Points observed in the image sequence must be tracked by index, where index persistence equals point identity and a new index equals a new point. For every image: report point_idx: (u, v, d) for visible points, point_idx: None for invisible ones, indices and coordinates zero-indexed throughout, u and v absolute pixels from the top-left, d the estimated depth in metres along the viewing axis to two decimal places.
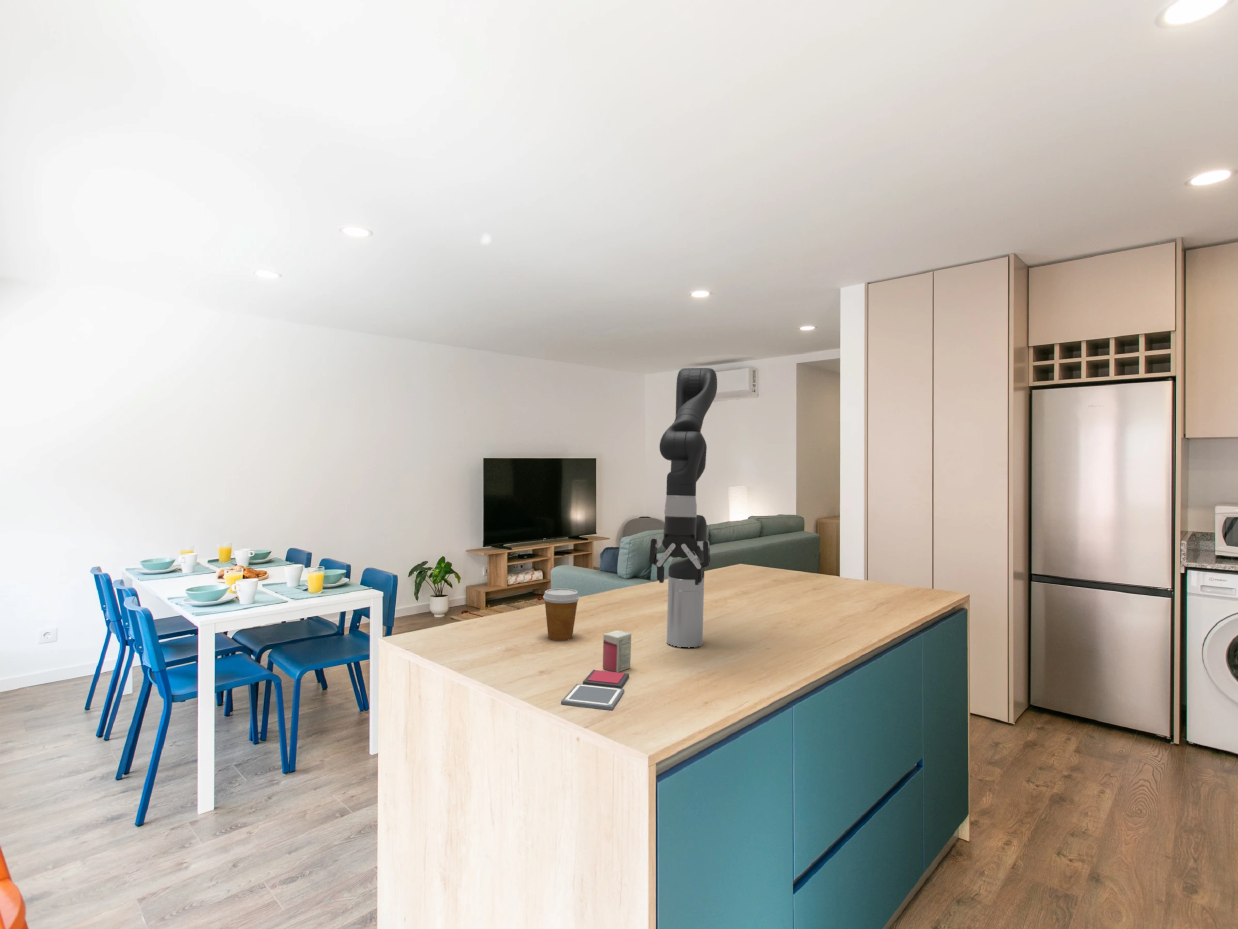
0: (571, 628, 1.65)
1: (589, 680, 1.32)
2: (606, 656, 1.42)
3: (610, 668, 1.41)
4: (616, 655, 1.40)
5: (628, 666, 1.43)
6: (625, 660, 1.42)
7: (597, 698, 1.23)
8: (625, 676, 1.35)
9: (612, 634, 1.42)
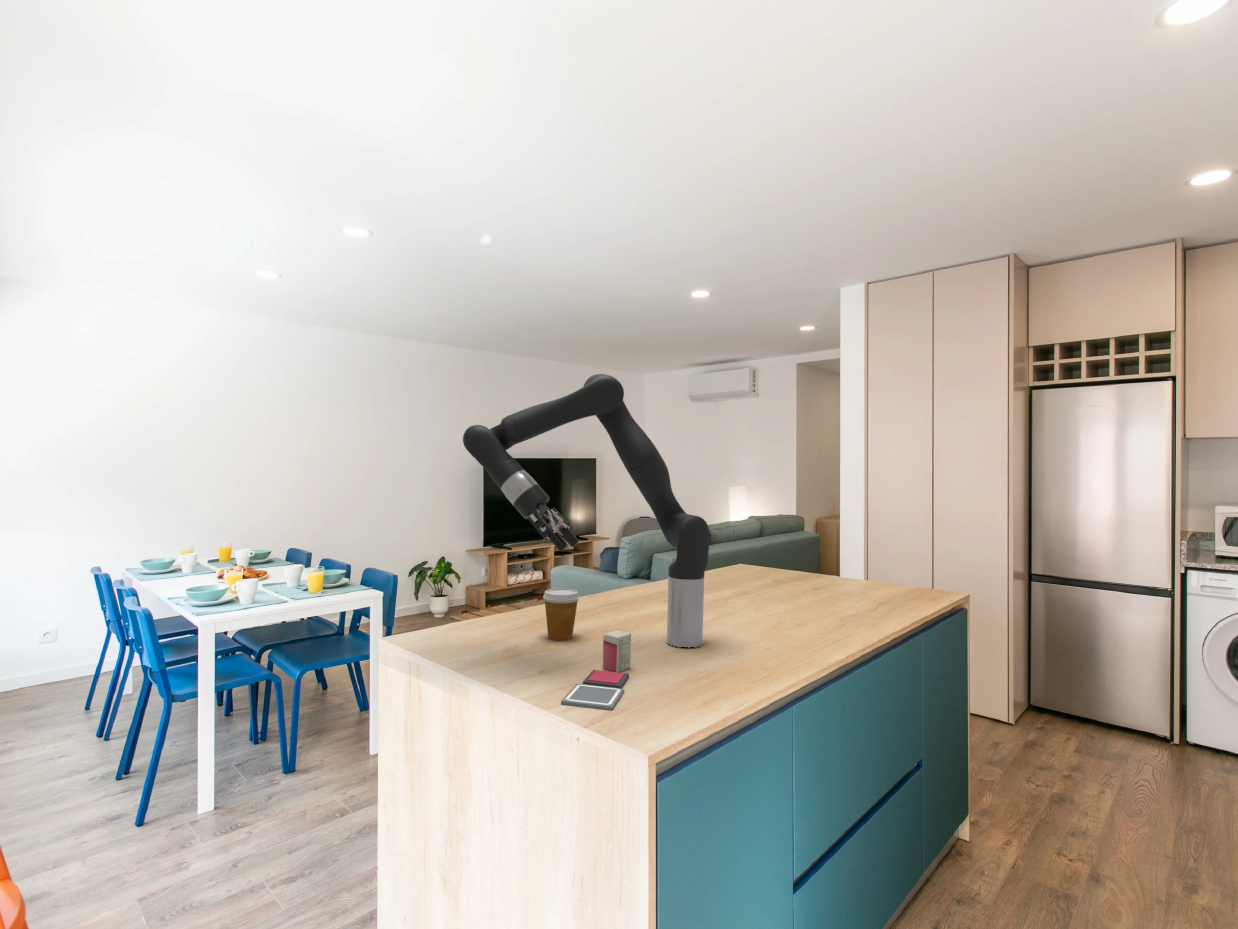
0: (571, 628, 1.65)
1: (589, 680, 1.32)
2: (606, 656, 1.42)
3: (610, 668, 1.41)
4: (616, 655, 1.40)
5: (628, 666, 1.43)
6: (625, 660, 1.42)
7: (597, 698, 1.23)
8: (625, 676, 1.35)
9: (612, 634, 1.42)
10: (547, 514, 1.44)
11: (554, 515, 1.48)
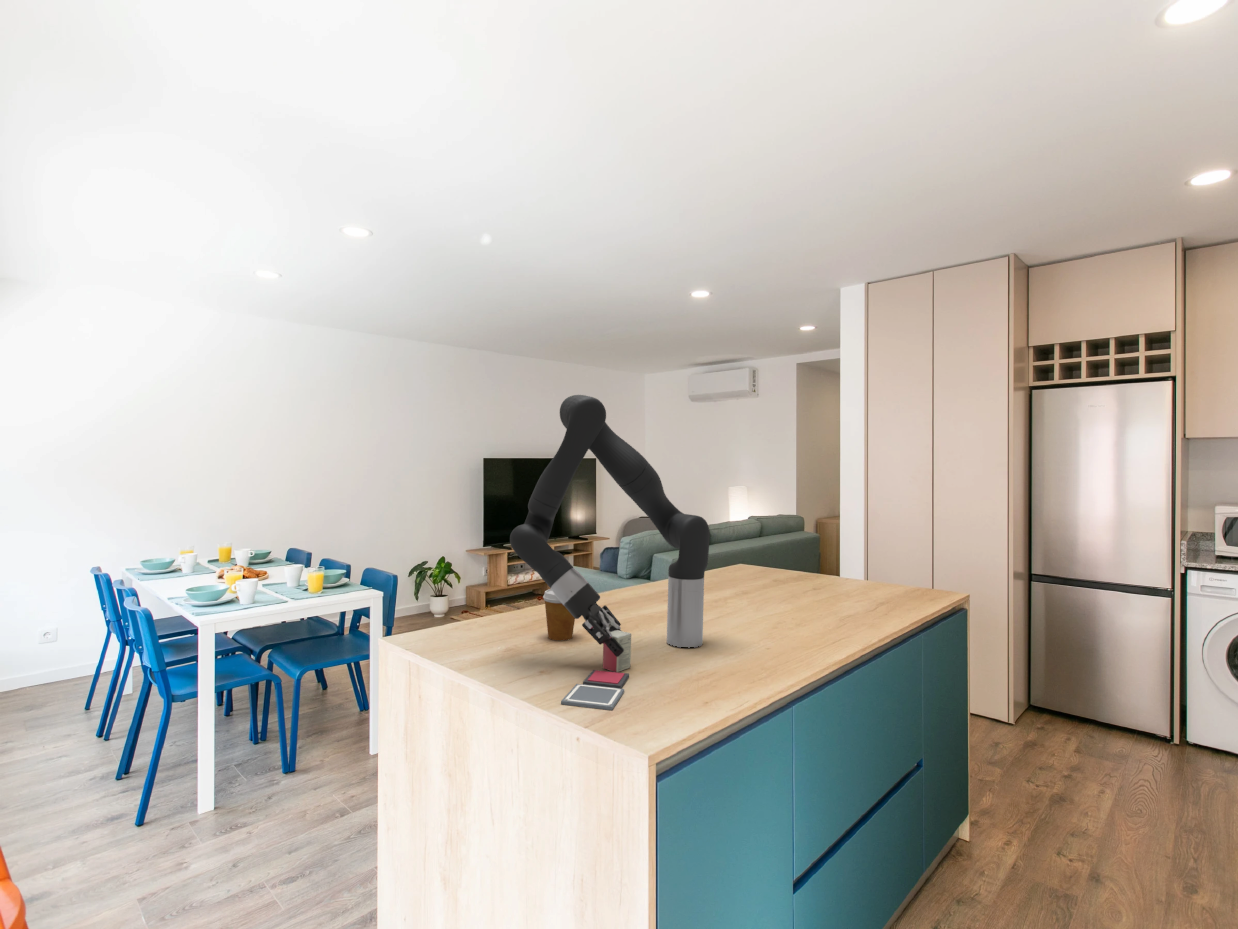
0: (571, 628, 1.65)
1: (589, 680, 1.32)
2: (606, 656, 1.42)
3: (610, 668, 1.41)
4: None
5: (628, 666, 1.43)
6: (625, 660, 1.42)
7: (597, 698, 1.23)
8: (625, 676, 1.35)
9: (612, 634, 1.42)
10: (600, 617, 1.42)
11: (605, 614, 1.45)
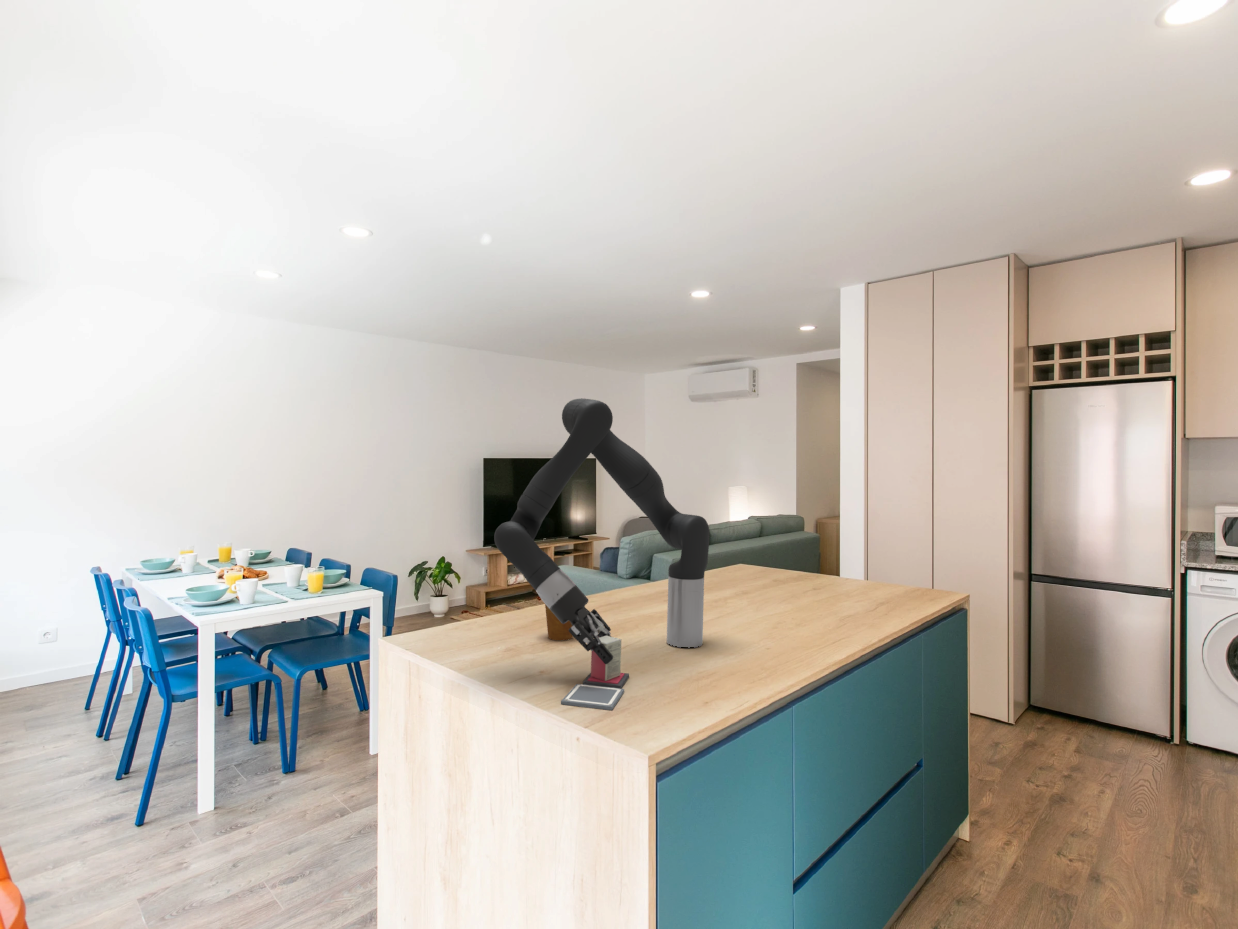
0: None
1: (589, 680, 1.32)
2: (594, 663, 1.33)
3: (598, 676, 1.32)
4: None
5: (618, 674, 1.34)
6: (615, 668, 1.33)
7: (597, 698, 1.23)
8: (625, 676, 1.35)
9: (601, 640, 1.33)
10: (588, 621, 1.33)
11: (593, 619, 1.36)
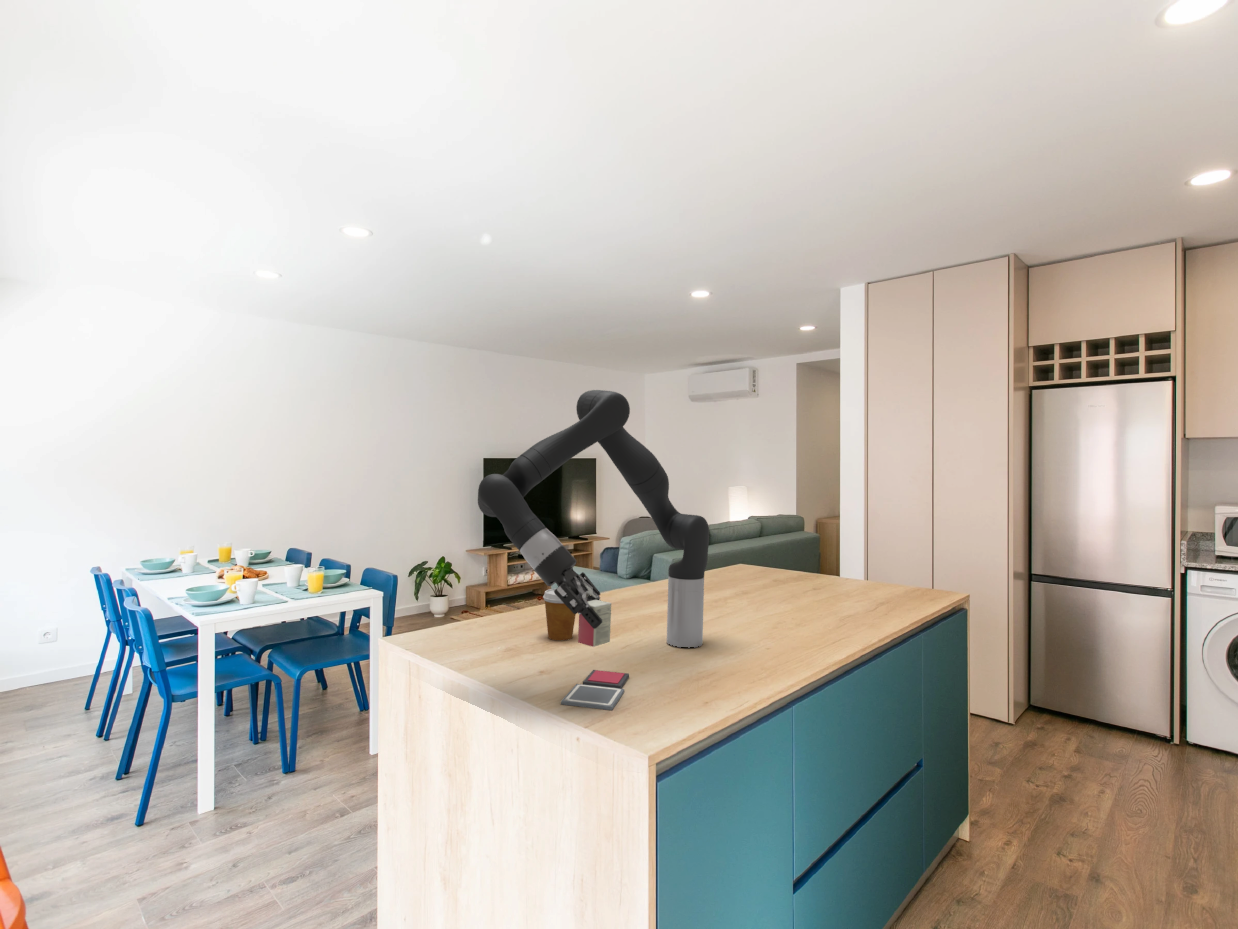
0: (571, 628, 1.65)
1: (589, 680, 1.32)
2: (582, 628, 1.23)
3: (586, 642, 1.23)
4: None
5: (607, 640, 1.25)
6: (604, 633, 1.24)
7: (597, 698, 1.23)
8: (625, 676, 1.35)
9: (589, 603, 1.24)
10: (575, 583, 1.23)
11: (582, 582, 1.26)
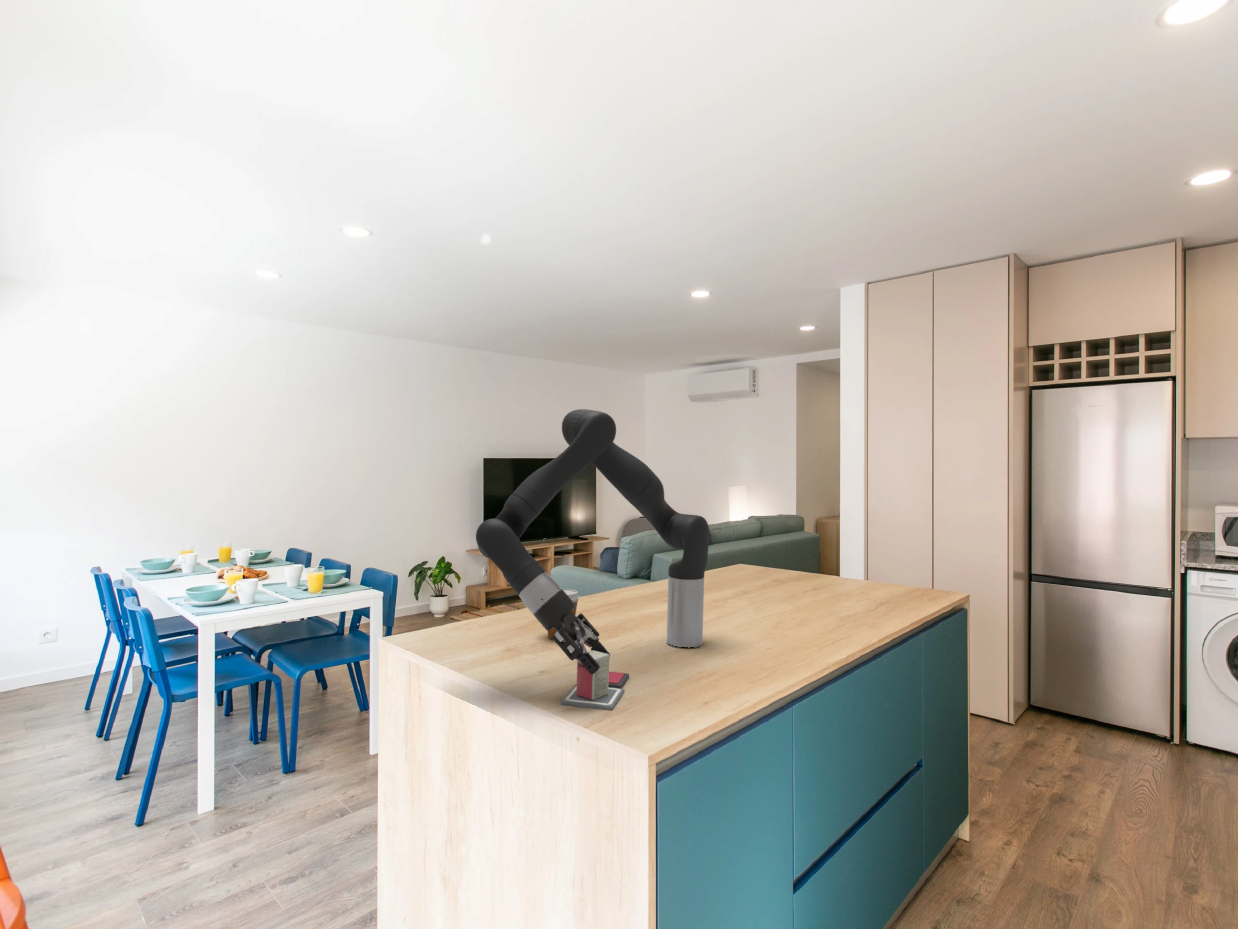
0: None
1: None
2: (580, 681, 1.23)
3: (585, 695, 1.22)
4: (592, 680, 1.21)
5: (606, 692, 1.25)
6: (602, 685, 1.24)
7: (597, 698, 1.23)
8: (625, 676, 1.35)
9: None
10: (574, 628, 1.23)
11: (581, 626, 1.26)
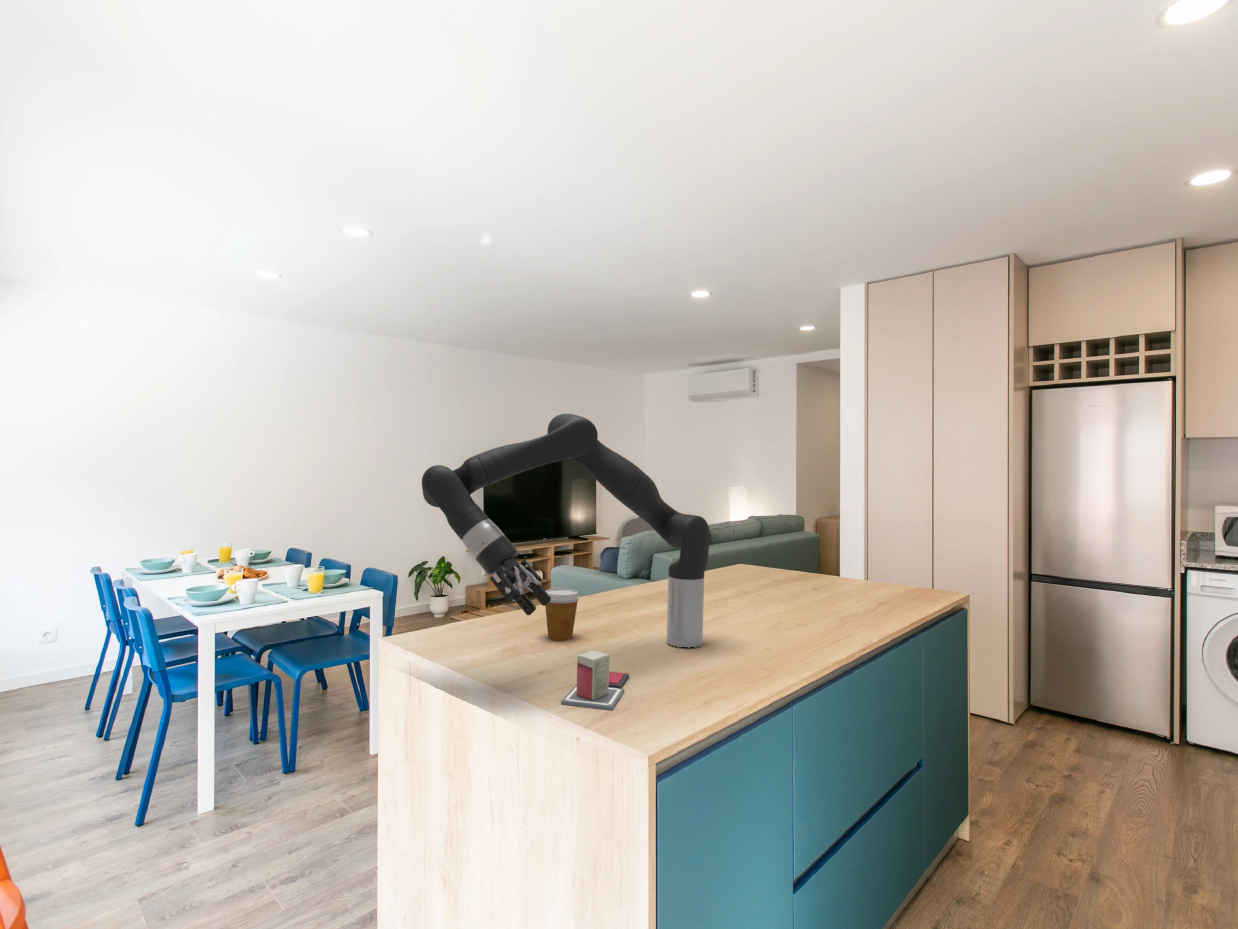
0: (571, 628, 1.65)
1: None
2: (580, 681, 1.23)
3: (585, 695, 1.22)
4: (592, 680, 1.21)
5: (606, 692, 1.25)
6: (602, 685, 1.24)
7: (597, 698, 1.23)
8: (625, 676, 1.35)
9: (587, 655, 1.24)
10: (514, 572, 1.26)
11: (523, 571, 1.30)
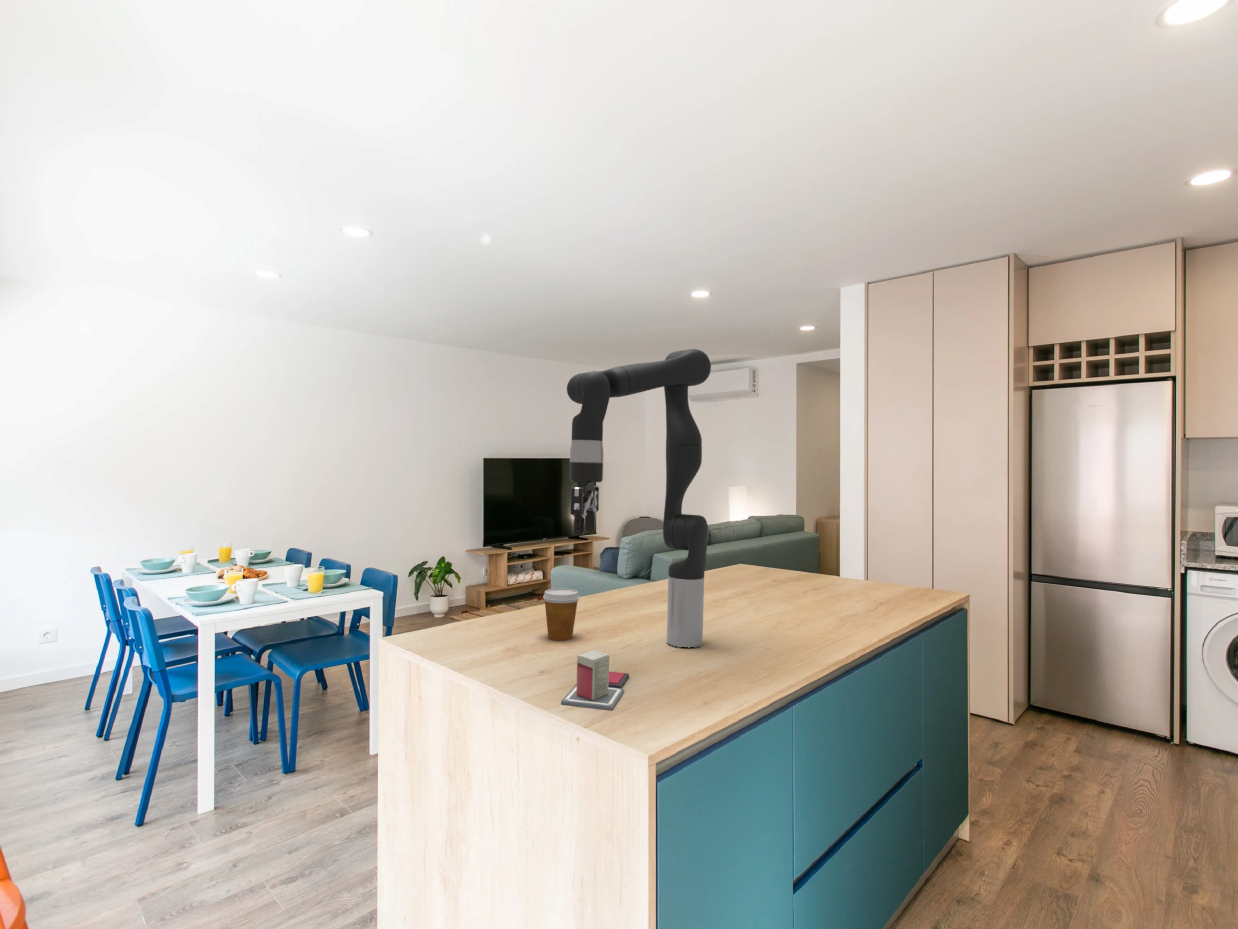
0: (571, 628, 1.65)
1: None
2: (580, 681, 1.23)
3: (585, 695, 1.22)
4: (592, 680, 1.21)
5: (606, 692, 1.25)
6: (602, 685, 1.24)
7: (597, 698, 1.23)
8: (625, 676, 1.35)
9: (587, 655, 1.24)
10: (589, 495, 1.41)
11: (593, 497, 1.45)
